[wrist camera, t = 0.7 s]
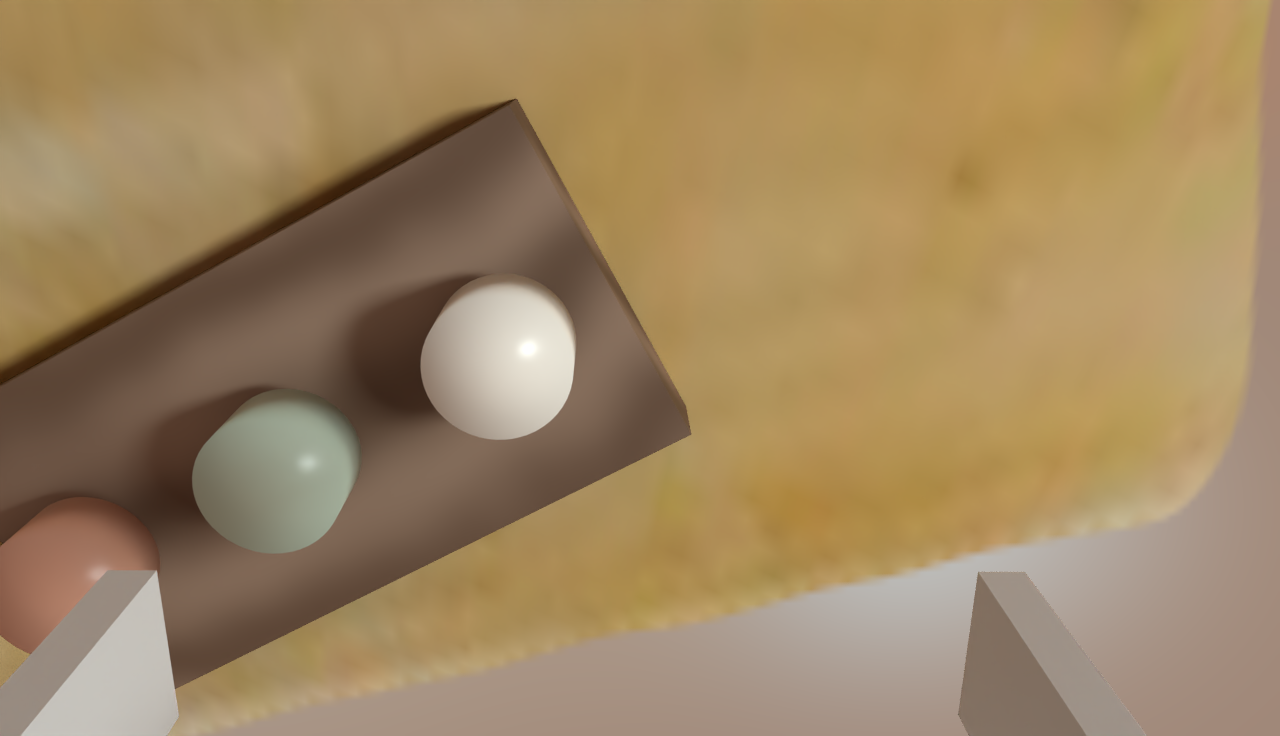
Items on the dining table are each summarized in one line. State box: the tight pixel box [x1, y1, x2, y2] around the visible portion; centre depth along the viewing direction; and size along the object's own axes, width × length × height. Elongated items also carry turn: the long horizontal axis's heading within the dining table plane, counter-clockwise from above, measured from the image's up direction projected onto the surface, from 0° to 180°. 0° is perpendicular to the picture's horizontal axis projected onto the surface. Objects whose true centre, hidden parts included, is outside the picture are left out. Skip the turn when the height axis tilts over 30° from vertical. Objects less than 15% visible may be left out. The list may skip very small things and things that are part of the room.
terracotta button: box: [0, 497, 160, 654], centre depth 37 cm, size 5×5×3 cm
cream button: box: [420, 274, 576, 440], centre depth 35 cm, size 5×5×3 cm
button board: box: [0, 99, 691, 689], centre depth 41 cm, size 14×26×3 cm, turn 118°
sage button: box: [192, 389, 362, 554], centre depth 36 cm, size 5×5×3 cm
